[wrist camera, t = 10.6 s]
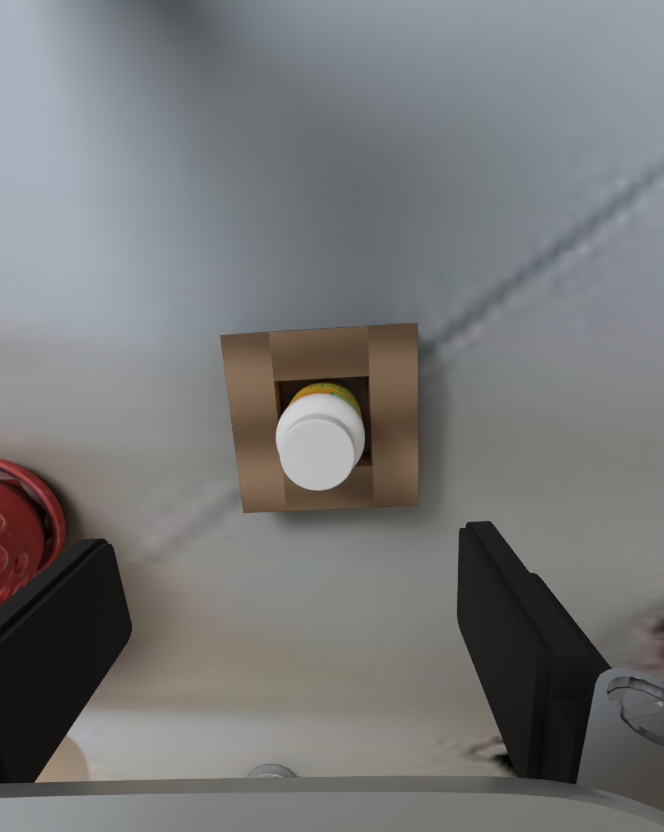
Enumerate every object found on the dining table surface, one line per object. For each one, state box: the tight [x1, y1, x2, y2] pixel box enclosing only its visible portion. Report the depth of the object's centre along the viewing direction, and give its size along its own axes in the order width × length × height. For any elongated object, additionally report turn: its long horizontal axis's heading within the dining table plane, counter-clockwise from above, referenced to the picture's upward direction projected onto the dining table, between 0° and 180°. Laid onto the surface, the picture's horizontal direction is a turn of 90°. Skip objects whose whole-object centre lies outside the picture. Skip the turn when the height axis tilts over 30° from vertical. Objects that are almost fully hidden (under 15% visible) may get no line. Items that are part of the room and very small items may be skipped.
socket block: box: [220, 323, 418, 513], centre depth 28 cm, size 13×13×4 cm
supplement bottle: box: [276, 379, 365, 491], centre depth 24 cm, size 5×5×10 cm
